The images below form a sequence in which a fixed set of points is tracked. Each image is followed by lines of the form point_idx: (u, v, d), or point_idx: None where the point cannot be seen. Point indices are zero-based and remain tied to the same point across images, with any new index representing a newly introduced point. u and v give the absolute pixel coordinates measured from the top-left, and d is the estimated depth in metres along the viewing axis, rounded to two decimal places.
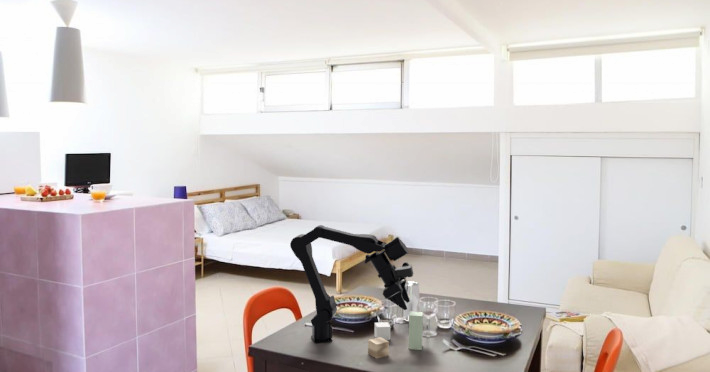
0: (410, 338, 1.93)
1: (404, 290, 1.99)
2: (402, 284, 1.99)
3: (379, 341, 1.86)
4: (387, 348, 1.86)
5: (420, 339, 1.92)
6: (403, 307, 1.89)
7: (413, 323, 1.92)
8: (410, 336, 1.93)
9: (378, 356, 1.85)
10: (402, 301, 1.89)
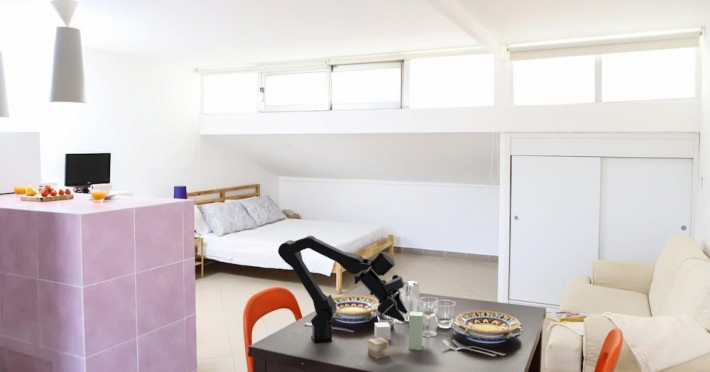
0: (410, 338, 1.93)
1: (400, 302, 2.00)
2: (396, 297, 2.00)
3: (379, 341, 1.86)
4: (387, 348, 1.86)
5: (420, 339, 1.92)
6: (401, 319, 1.90)
7: (413, 323, 1.92)
8: (410, 336, 1.93)
9: (378, 356, 1.85)
10: (398, 313, 1.89)
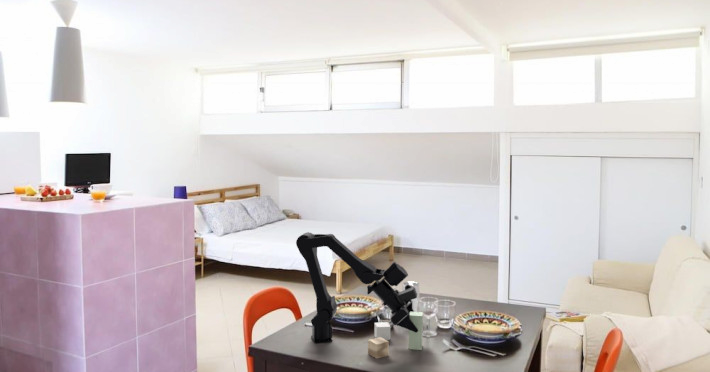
0: (410, 338, 1.93)
1: None
2: (409, 307, 2.00)
3: (379, 341, 1.86)
4: (387, 348, 1.86)
5: (420, 339, 1.92)
6: (414, 330, 1.89)
7: None
8: (410, 336, 1.93)
9: (378, 356, 1.85)
10: (412, 324, 1.89)
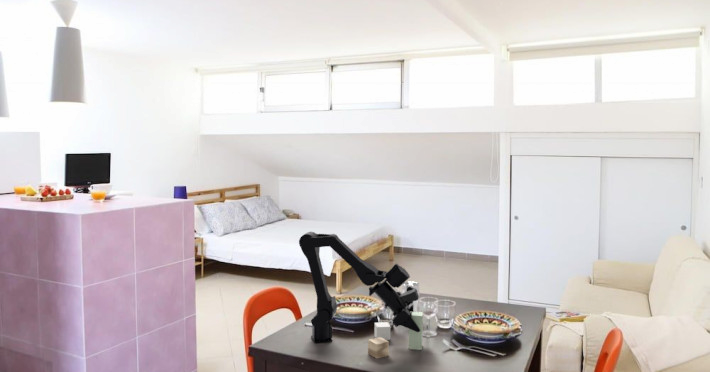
0: (410, 338, 1.93)
1: None
2: (410, 310, 1.97)
3: (379, 341, 1.86)
4: (387, 348, 1.86)
5: (420, 339, 1.92)
6: (416, 329, 1.92)
7: None
8: (410, 336, 1.93)
9: (378, 356, 1.85)
10: (414, 324, 1.91)
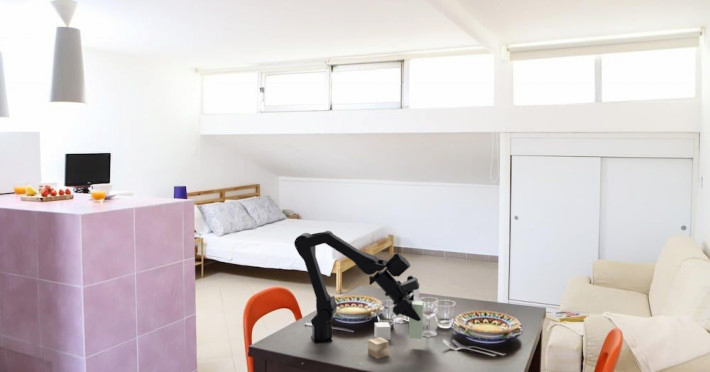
0: (410, 327, 1.93)
1: None
2: (410, 299, 1.97)
3: (379, 341, 1.86)
4: (387, 348, 1.86)
5: (420, 328, 1.92)
6: (416, 318, 1.91)
7: None
8: (410, 325, 1.92)
9: (378, 356, 1.85)
10: (414, 313, 1.91)
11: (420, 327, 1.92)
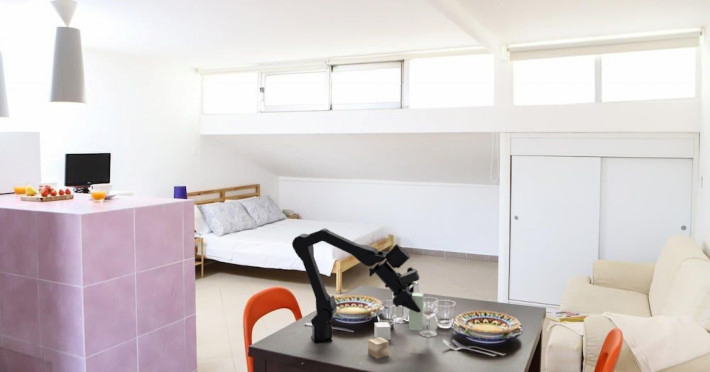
0: (410, 319, 1.92)
1: None
2: (410, 291, 1.97)
3: (379, 341, 1.86)
4: (387, 348, 1.86)
5: (420, 320, 1.92)
6: (416, 310, 1.91)
7: None
8: (410, 317, 1.92)
9: (378, 356, 1.85)
10: (414, 304, 1.90)
11: (420, 319, 1.92)
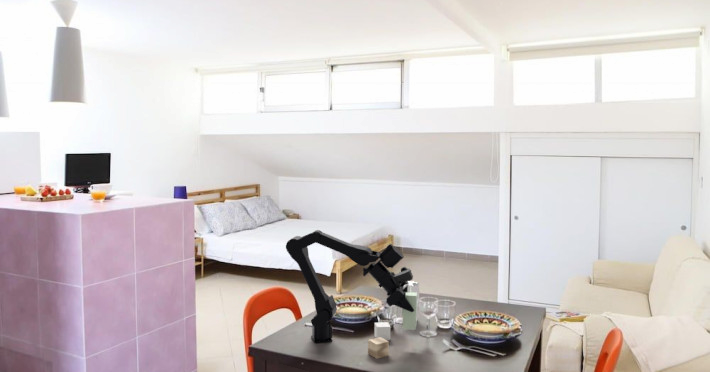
0: (404, 318, 1.93)
1: None
2: (404, 291, 1.97)
3: (379, 341, 1.86)
4: (387, 348, 1.86)
5: (414, 319, 1.92)
6: (410, 309, 1.91)
7: None
8: (404, 316, 1.93)
9: (378, 356, 1.85)
10: (408, 304, 1.91)
11: (414, 318, 1.92)
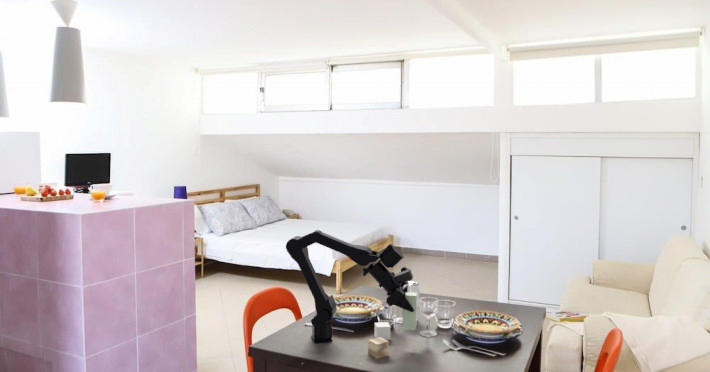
0: (404, 318, 1.93)
1: None
2: (404, 291, 1.97)
3: (379, 341, 1.86)
4: (387, 348, 1.86)
5: (414, 319, 1.92)
6: (410, 309, 1.91)
7: None
8: (404, 316, 1.93)
9: (378, 356, 1.85)
10: (408, 304, 1.91)
11: (414, 318, 1.92)
